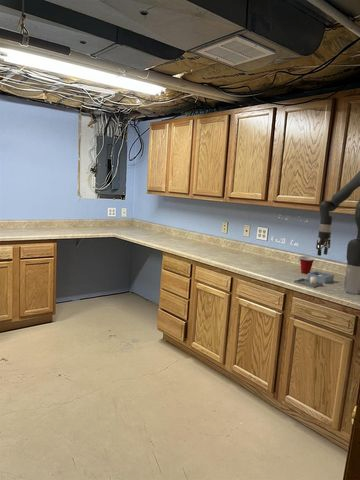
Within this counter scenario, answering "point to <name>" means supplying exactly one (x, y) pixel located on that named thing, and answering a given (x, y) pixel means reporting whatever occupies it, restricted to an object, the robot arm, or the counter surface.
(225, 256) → the counter surface
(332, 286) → the counter surface
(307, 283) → the parts tray
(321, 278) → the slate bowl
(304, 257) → the plastic cup
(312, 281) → the grey stone
